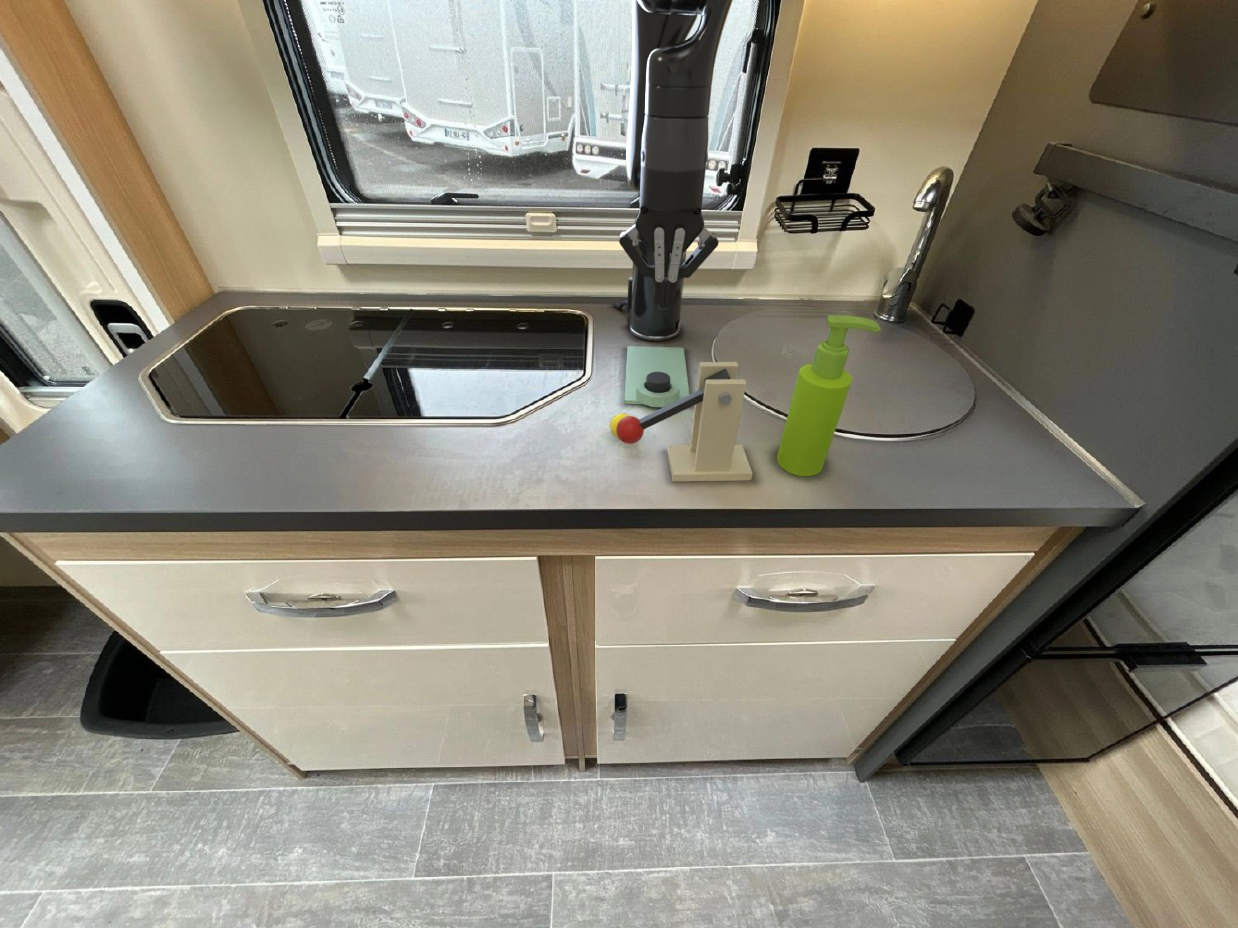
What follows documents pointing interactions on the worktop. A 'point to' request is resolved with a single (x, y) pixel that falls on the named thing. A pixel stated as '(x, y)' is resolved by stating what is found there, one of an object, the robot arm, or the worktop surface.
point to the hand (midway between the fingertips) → (663, 307)
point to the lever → (661, 413)
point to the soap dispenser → (819, 400)
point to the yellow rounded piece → (615, 422)
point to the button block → (655, 361)
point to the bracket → (713, 431)
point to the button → (658, 382)
